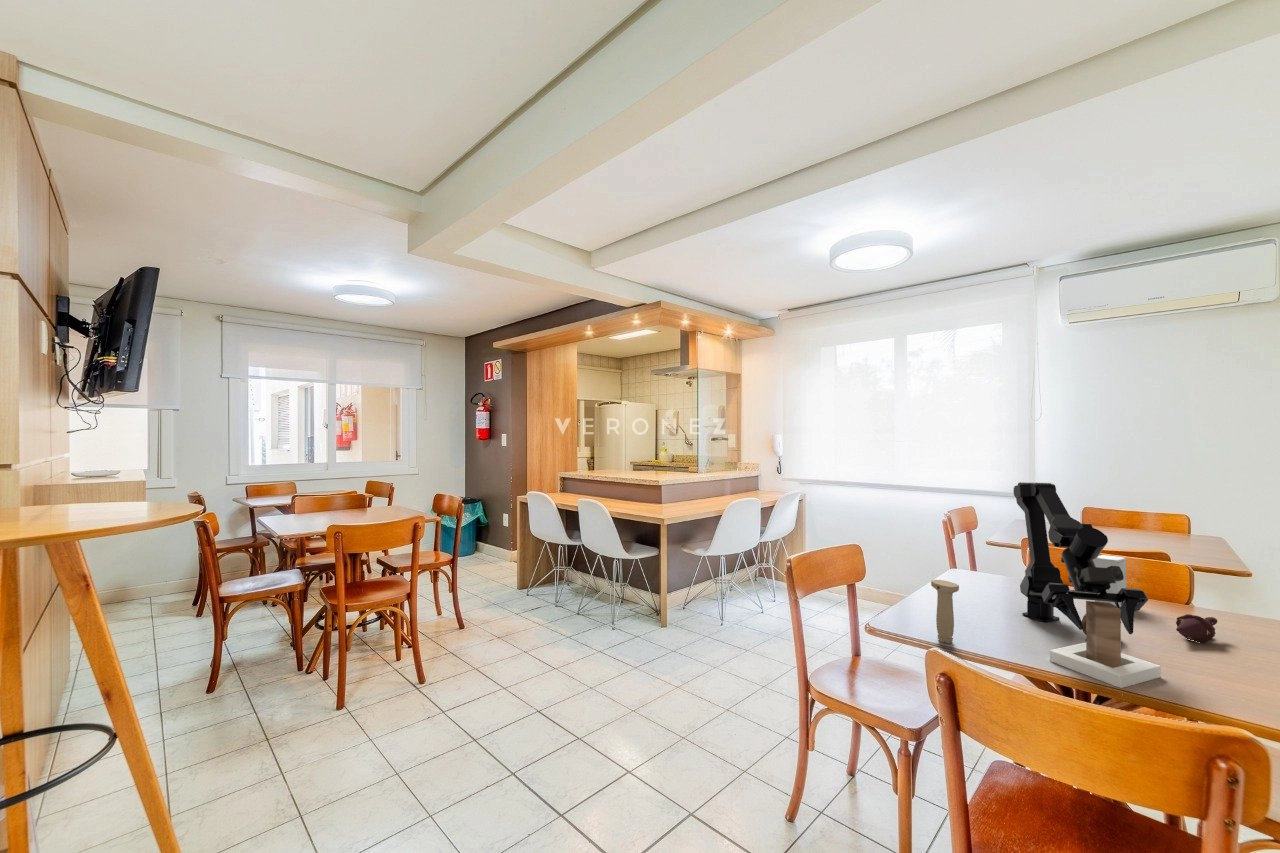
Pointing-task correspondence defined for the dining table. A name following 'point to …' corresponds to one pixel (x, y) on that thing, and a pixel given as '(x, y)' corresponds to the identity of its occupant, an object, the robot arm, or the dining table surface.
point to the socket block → (1119, 676)
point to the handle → (945, 609)
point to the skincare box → (1109, 561)
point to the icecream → (1196, 627)
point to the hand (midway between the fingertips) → (1106, 631)
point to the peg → (1103, 633)
